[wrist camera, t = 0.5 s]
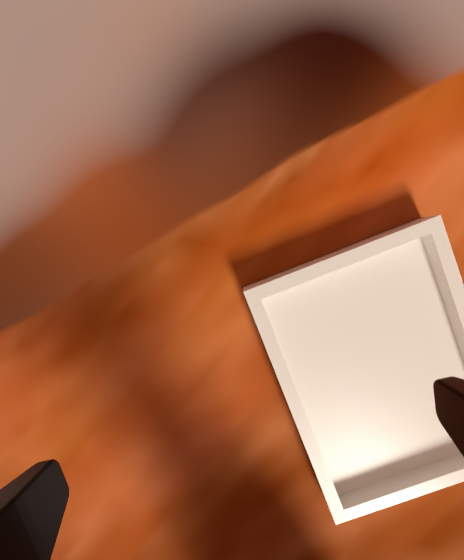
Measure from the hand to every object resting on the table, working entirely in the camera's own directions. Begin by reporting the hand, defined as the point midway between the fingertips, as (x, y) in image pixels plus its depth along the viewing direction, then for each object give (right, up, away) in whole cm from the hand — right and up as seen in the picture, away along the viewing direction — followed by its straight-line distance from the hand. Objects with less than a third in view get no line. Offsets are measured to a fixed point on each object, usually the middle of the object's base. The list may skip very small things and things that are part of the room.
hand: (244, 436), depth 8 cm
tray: (+9, -2, +14) cm, 17 cm away
